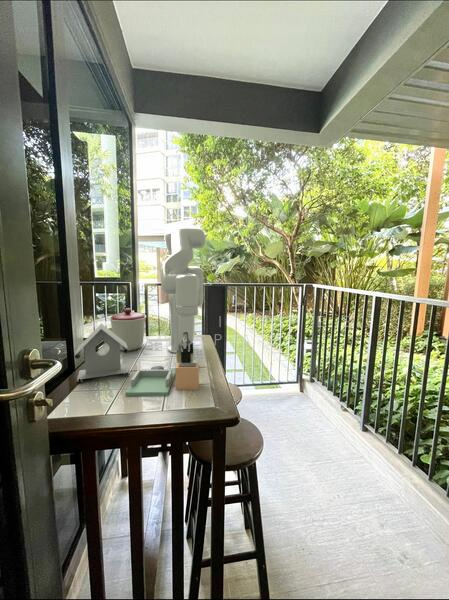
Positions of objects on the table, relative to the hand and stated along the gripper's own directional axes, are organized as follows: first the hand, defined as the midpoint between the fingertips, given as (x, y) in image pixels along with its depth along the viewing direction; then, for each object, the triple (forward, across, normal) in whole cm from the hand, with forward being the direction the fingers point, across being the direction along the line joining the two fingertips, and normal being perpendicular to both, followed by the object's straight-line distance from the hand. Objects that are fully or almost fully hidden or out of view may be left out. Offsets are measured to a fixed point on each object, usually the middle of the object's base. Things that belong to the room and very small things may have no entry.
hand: (187, 358), depth 96 cm
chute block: (+11, -1, 0) cm, 11 cm away
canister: (+10, -46, -35) cm, 58 cm away
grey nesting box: (+11, -11, -34) cm, 37 cm away
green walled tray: (+11, -4, -13) cm, 17 cm away
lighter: (+11, -19, -3) cm, 22 cm away
